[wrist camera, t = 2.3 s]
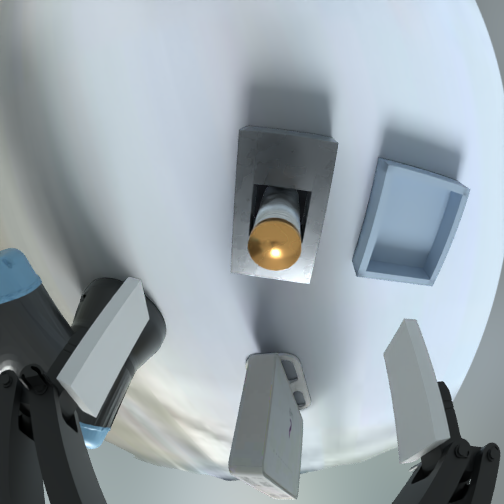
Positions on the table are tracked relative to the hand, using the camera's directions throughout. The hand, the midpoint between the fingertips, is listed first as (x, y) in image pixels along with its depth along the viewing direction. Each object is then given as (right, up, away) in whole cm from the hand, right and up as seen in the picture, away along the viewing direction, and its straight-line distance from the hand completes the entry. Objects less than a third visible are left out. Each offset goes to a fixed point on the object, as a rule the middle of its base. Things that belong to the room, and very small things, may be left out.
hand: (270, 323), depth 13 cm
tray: (+16, +7, +14) cm, 22 cm away
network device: (+4, -20, +32) cm, 38 cm away
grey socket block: (+2, +9, +15) cm, 17 cm away
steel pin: (+2, +9, +15) cm, 17 cm away
